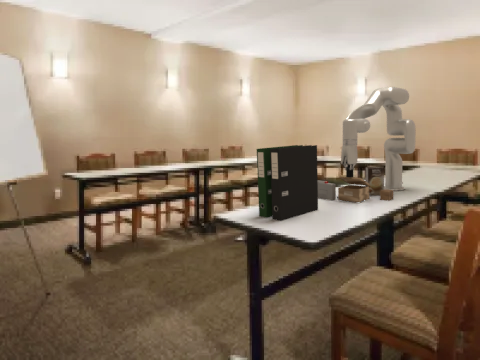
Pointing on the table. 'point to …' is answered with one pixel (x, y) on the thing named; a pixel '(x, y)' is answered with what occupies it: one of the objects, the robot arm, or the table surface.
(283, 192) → the ring binders
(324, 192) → the cassette player
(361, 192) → the carton
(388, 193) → the walnut block
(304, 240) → the table surface
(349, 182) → the lid
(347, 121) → the robot arm
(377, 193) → the coffee box
